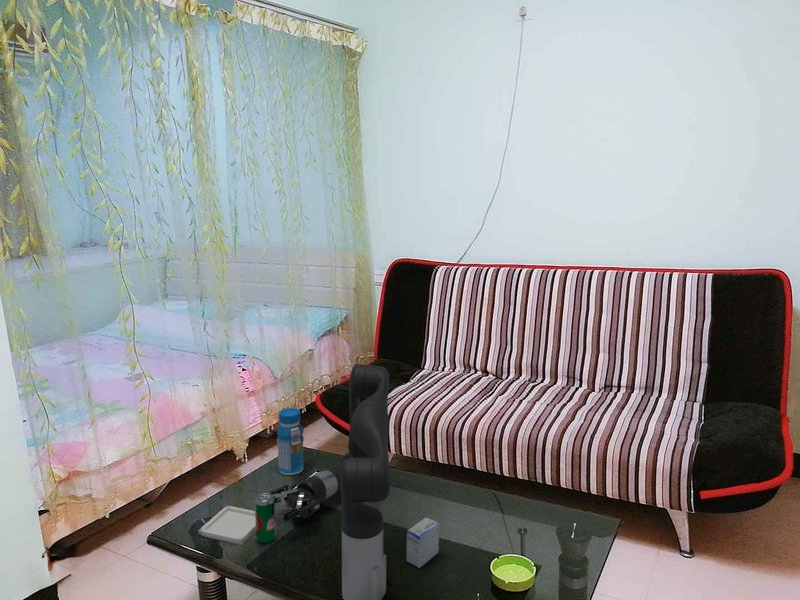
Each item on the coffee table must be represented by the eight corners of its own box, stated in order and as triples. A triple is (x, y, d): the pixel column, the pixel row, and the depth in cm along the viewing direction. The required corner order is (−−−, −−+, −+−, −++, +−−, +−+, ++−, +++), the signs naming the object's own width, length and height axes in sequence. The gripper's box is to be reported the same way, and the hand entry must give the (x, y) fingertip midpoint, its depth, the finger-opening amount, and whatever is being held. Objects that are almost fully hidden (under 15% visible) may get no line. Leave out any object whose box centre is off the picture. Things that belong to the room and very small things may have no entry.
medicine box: (425, 546, 154) (425, 516, 153) (439, 553, 152) (440, 522, 150) (405, 561, 148) (406, 530, 147) (420, 569, 146) (420, 536, 144)
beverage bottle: (275, 475, 190) (273, 416, 186) (281, 463, 198) (279, 406, 194) (301, 476, 190) (300, 417, 186) (306, 463, 198) (305, 406, 194)
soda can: (271, 545, 154) (269, 503, 151) (252, 543, 155) (250, 501, 152) (278, 534, 159) (277, 493, 156) (260, 532, 160) (259, 491, 157)
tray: (267, 518, 166) (267, 513, 166) (241, 545, 154) (241, 540, 154) (227, 510, 170) (226, 505, 170) (198, 535, 158) (198, 530, 158)
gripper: (300, 468, 174) (255, 490, 161) (336, 484, 165) (291, 508, 152) (301, 492, 175) (256, 515, 163) (336, 508, 166) (291, 535, 154)
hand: (273, 512), depth 158 cm, fingers open, 8 cm apart
